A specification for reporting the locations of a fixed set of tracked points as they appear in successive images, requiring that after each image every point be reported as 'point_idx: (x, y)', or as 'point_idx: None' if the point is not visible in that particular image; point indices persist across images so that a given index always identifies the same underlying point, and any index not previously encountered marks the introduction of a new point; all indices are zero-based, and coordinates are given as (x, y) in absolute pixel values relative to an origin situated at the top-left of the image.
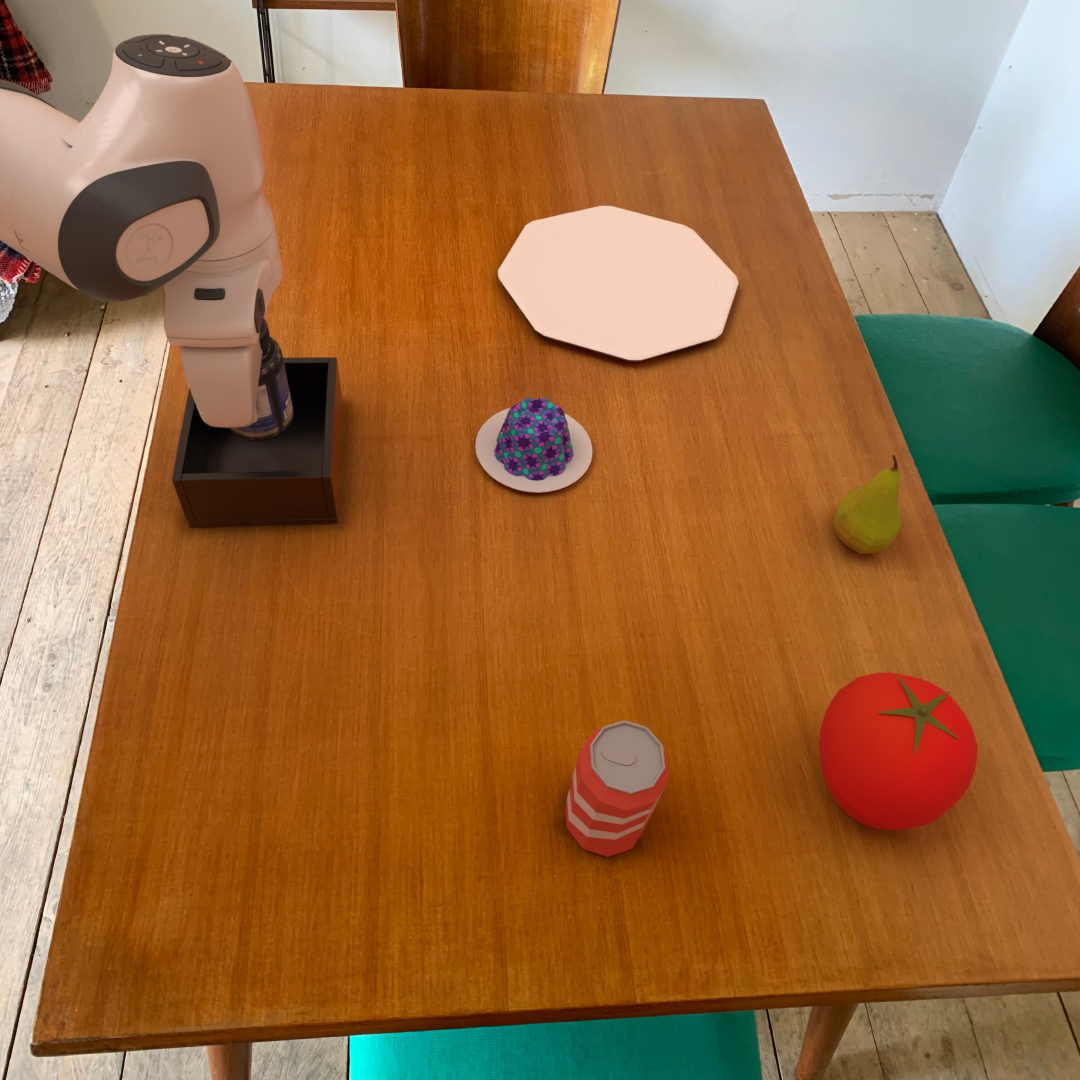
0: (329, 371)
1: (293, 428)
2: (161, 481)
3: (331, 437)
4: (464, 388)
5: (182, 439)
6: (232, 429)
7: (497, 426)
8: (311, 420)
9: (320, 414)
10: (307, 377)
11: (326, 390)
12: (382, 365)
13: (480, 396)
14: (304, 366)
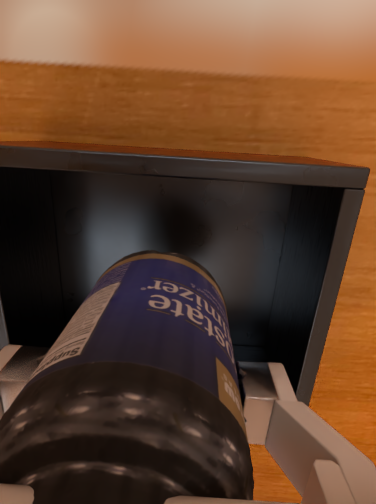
0: None
1: (227, 294)
2: (139, 82)
3: None
4: (276, 468)
5: (81, 158)
6: (109, 268)
7: None
8: (239, 318)
9: (250, 329)
10: (286, 360)
11: (273, 362)
12: (341, 395)
13: (260, 480)
14: (294, 378)
